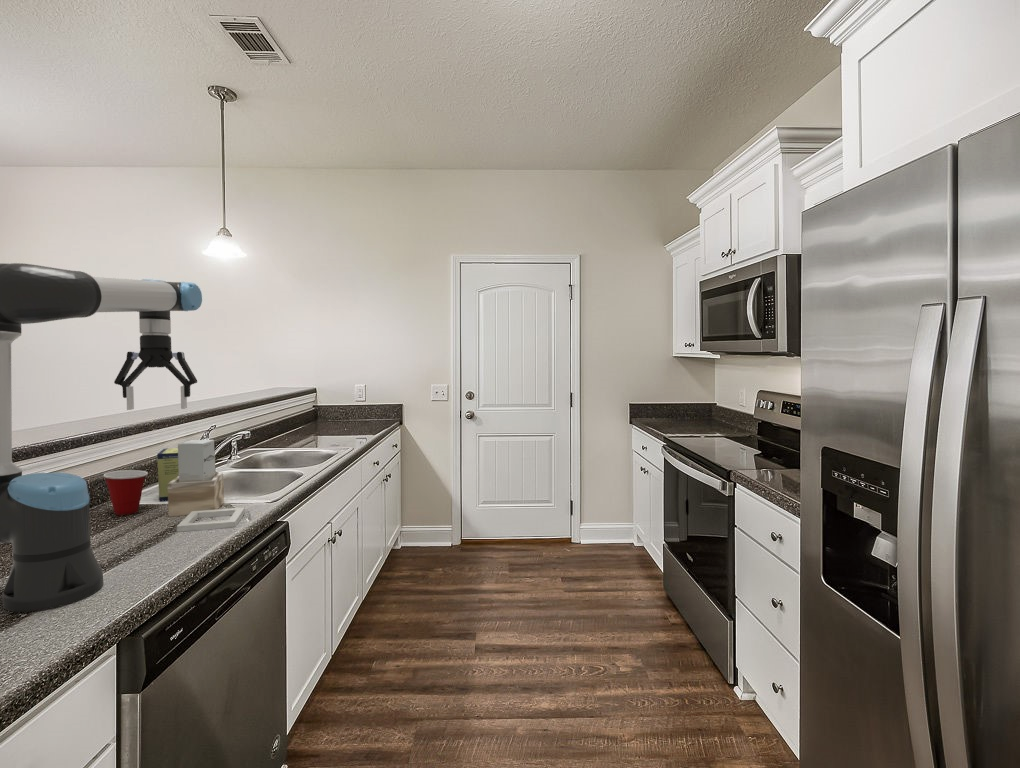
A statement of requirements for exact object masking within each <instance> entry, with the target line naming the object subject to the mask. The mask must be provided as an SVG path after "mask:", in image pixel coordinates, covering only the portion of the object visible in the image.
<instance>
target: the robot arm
mask: <svg viewBox="0 0 1020 768" xmlns="http://www.w3.org/2000/svg"><path fill="white" fill-rule="evenodd" d="M202 302H203V295H202V290H201V288H200V287H199V286H198V285H197V283H195V282H188V281H187V282H186V281H176V282H175V281H165V280H160V279H153V278H152V279H147V278H146V279H144V278H143V279H132V278H131V279H129V278H116V277H113V278H112V277H99V276H97V277H96V276H92V275H91V274H89V273H87V272H85V271H80V270H79V271H78V270H70V269H63V268H56V267H50V266H44V265H38V264H32V263H31V264H30V263H20V262H19V263H17V262H15V263H14V262H13V263H0V544H1V543H2V544H3V543H5V544H7V543H8V544H9V543H10V544H11V548H12V565H11V568H10V571H9V574H8V577H7V580H6V583H5V585H4V588H3V590H2V596H1V597H2V608H3V609H5V610H7V611H9V612H15V613H16V612H17V613H18V612H22V613H23V612H26V613H27V612H37V611H42V610H48V609H54V608H59V607H61V606H65V605H69V604H71V603H74V602H78V601H80V600H83V599H85V598H87V597H89V596H92V595H93V594H95V593H96V592H98V591H99V590H101V589H102V587H103V586H104V573H103V571H102V569H101V567H100V565H99V562H98V561H97V559H96V556H95V555H94V552H93V551H92V547H91V546H92V545H91V521H90V520H91V518H90V515H91V514H90V513H91V511H90V494H89V490H88V489H89V488H88V484H87V482H86V480H85V479H84V478H83V477H81V476H79V475H77V474H71V473H67V472H47V473H46V472H35V473H28V474H24V475H23V469H22V468H21V467H19V466H18V465H17V464H15V463H14V461H13V446H12V445H13V443H12V440H13V438H12V433H13V431H12V428H13V427H12V426H13V425H12V424H13V422H12V415H13V414H12V344H13V342H14V341H15V340H16V339H18V338H19V337H20V336H22V325H26V324H27V325H28V324H30V325H31V324H39V323H47V322H54V321H61V320H67V319H77V318H80V319H81V318H88V317H91V316H93V315H95V314H96V313H120V312H121V313H125V312H126V313H128V312H129V313H131V312H135V313H136V312H137V313H138V314H139V315H138V316H139V317H138V319H139V320H138V321H139V323H138V324H139V327H138V328H139V334H141V335H140V336H139V349H140V350H139V352H135V351H127V353H126V359H125V361H124V363H123V365H122V367H121V369H120V370H119V372H118V374H117V376H116V378H115V379H114V384H115V385H119V386H121V388H122V398H124V399H126V411H132V410H134V409H135V402H134V401H135V399H134V386H131V385H132V384H133V382H134V381H135V380H136V379H138V377H139V376H140V375H141V374H142V373H143V372H144V371H145V370H146V369H147V368H165V369H167V370H169V372H170V373H172V374H173V376H174V377H175V378H176V379H177V380H178V381H179V382H180V383H181V384H182V386H180V409H181V410H185V409H187V408H188V398H189V397H191V386H192V385H195V384H197V383H198V380H197V378H196V376H195V374H194V372H193V371H192V368H191V367H190V366H189V364H188V362H187V361H186V358H185V353H184V352H183V351H177V352H173V351H172V336H170V335H171V333H172V332H171V331H172V324H171V322H172V321H171V312H190V311H196V310H199V309H200V308H201V306H202V304H203V303H202ZM138 358H139V359H140V360H141V362H140V363H139V364H138V365H137V367H136V368H135V369H134V370H133V371H132V372H131V373H130V374H129V375H128V373H129V371H130V370H131V368H132V366H133V364H134V362H135V360H137V359H138ZM173 358H174V359H175V360H177V362H178V363H179V365H180V367H181V369H182V371H183V373H184V374H185V375H186V376H185V375H184V374H183V373H182V372H181V371H180V370H179V369H178V368H177V367H176V366H175V364H174V363H173V362H171V361H172V359H173ZM186 377H187V378H186Z"/></svg>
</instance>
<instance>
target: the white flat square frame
mask: <svg viewBox="0 0 1020 768" xmlns="http://www.w3.org/2000/svg"><path fill="white" fill-rule="evenodd" d="M245 512H246V507H232V508H219V509H217V510H203V511H192V512H191V513H190V514H189V515H186V516H185V517H184V519H182V521H181V522H180V523H178V524H177V526H176V532H177V533H179V532H181V533H182V532H192V531H193V532H194V531H204V530H205V531H207V530H217V529H229V528H236V526H237V525H238V524H239V522H240V520H241V519H242V518H243V516H244V515H245ZM227 516H230V517H229V519H227V520H214V521H203V522H202V521H201V522H195V521H196V520H197V519H201V518H202V519H203V518H212V517H213V518H214V517H215V518H216V517H227Z"/></svg>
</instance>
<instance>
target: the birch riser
mask: <svg viewBox="0 0 1020 768" xmlns="http://www.w3.org/2000/svg"><path fill="white" fill-rule="evenodd" d="M167 485H168V501H167V507H168V511H167V512H168V517H178V516H188V515H189V514H190V513H191V512H192V511H203V510H217V509H220V508H221V506H222V505H223V504H224V503H225V494H224V493H225V491H224V490H225V489H224V488H225V487H224V472H222V471H221V472H216V473H215V477H214V478H213V479H212V480H211V481H196V482H179V476H178V477H176V478H175V479H174V480H172V481H171V482H170V483H168V484H167Z"/></svg>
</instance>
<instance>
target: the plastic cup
mask: <svg viewBox="0 0 1020 768" xmlns="http://www.w3.org/2000/svg"><path fill="white" fill-rule="evenodd" d="M148 474H149V472H148V471H145V470H137V469H128V470H127V469H126V470H124V469H123V470H114V471H109V472H108V471H107V472H105V473H104V474H103V477H104V479H105V483H106V486H107V489H108V494H109V497H110V501H111V504H112V509H113V512H114V514H115V515H117V516H123V515H124V516H125V515H130V514H131V515H132V514H135V513H138V512H139V509H140V504H141V499H142V493H143V487H144V483H145V480H146V478H147V476H148Z"/></svg>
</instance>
